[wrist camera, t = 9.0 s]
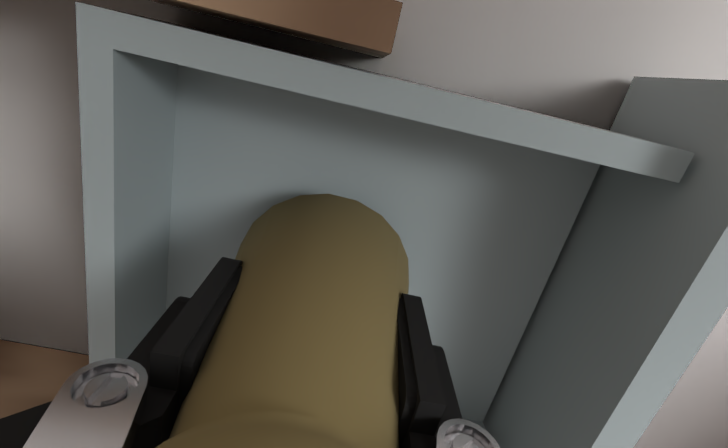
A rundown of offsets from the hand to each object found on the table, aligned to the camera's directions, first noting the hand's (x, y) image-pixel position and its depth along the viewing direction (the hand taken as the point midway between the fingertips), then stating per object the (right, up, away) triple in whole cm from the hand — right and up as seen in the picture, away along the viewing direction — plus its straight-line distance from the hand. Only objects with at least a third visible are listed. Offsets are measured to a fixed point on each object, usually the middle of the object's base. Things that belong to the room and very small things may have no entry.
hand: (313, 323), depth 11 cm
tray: (+2, +1, +5) cm, 5 cm away
